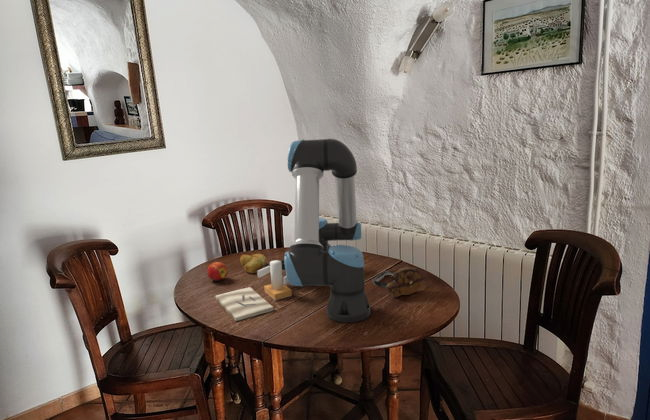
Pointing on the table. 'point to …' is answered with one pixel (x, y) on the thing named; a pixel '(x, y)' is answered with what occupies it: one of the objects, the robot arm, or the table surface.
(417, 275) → the wooden carving
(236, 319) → the plywood board
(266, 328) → the table surface
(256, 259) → the bread roll
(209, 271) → the apple
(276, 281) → the block
